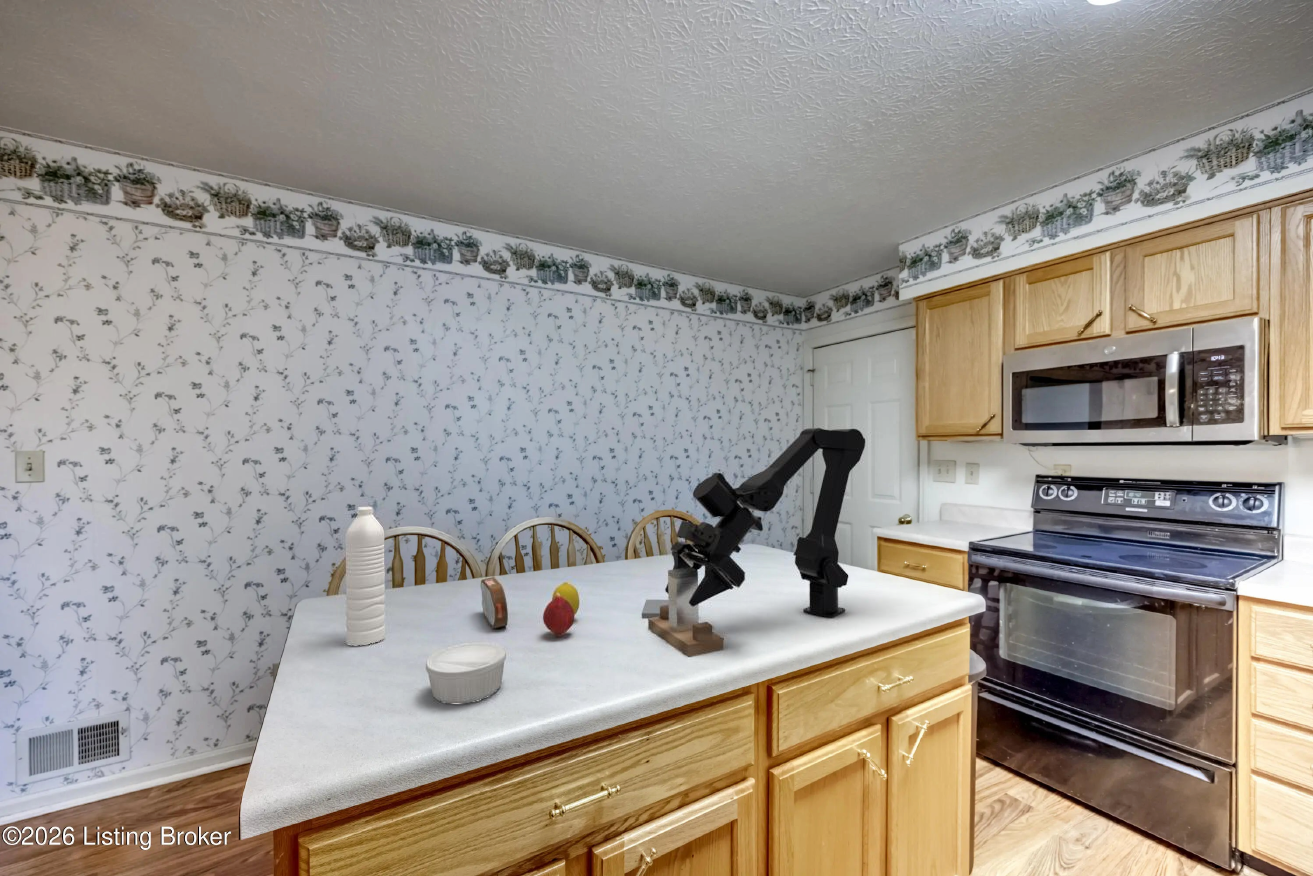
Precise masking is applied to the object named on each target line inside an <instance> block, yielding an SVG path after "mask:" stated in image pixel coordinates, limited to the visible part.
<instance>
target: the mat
mask: <svg viewBox="0 0 1313 876" xmlns="http://www.w3.org/2000/svg"><path fill="white" fill-rule="evenodd" d="M663 605H669V599H645V602H644V606H643V608H642V612H641V619H648V618H654V617H660V606H663Z"/></svg>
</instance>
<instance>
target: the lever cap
mask: <svg viewBox="0 0 1313 876" xmlns="http://www.w3.org/2000/svg"><path fill="white" fill-rule="evenodd" d="M667 578H668V579H667V584H668V593H667V595H668V596H667V597H668V598H667V600H669V627H670V628H671V629H673V630H674V631H676V632H681V631H687V630H692V629H693V624H697V623H700V622H699V620H700V619H699V604H697V605H696V606H691V605H690V604H689V601H690V599H691V597H692V595H693V594H694V592H695V590H696V589H697V587H698V586H699V570H695V569H692V568H690V567H689V568H681V569H673V568H672V569H668V570H667Z"/></svg>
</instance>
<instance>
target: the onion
mask: <svg viewBox="0 0 1313 876" xmlns="http://www.w3.org/2000/svg"><path fill="white" fill-rule="evenodd" d="M575 615H576V614H574V610H573V607H572V606H571V605H570V603H569V602H568V601H567V600H566V599H564V598H563V597H561V596H560V594H559V593H556V596H555V599H553V600H552V599H551V600H550V601H549V603H548V604H547V605H546V606H545V608H544V610H543V614H542V620H543V623H544V625H545V627H546V628H547V629H548V630H549V631H550V632H551V633H552V634H554V635H555V636H556V637H560V636H562V635H564V634H565V633H566V632H568V630H569V629H570V628H571V627H572V626H573V624H574V623H575V622H574V621H575Z"/></svg>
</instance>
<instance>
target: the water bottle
mask: <svg viewBox="0 0 1313 876" xmlns="http://www.w3.org/2000/svg"><path fill="white" fill-rule="evenodd" d="M356 513H357V515H356V516H355V518H354V519H353V521H352V522H351V524H350V526H348V529H346V532H345V537H344V539H345V555H346V556H345V573H346V574H345V586H346V589H345V598H346V599H345V604H346V607H345V608H346V609H345V617H346V620H345V627H346V631H345V634H346V635H345V636H346V637H345V640H346V641H345V642H346V644H347V643H348V644H351V645H350V646H352V645H360V646H361V645H365V644H370V643H372V644H373V643H375V642H378V641H380V640H381V641H383V640H384V639H385V638H386V614H385V613H386V605H385V604H386V594H385V593H386V584H385V581H386V580H385V579H386V575H385V568H386V567H385V530H384V528H383V526H382V525H381V524H380V522H379V521H378V520H377V518H376V517H375V515H373V513H374V508H373V507H372V506H359V507H357V512H356ZM382 639H383V640H382ZM381 641H380V642H381ZM378 643H379V642H378ZM348 644H347V645H348ZM375 644H376V643H375ZM370 645H371V644H370Z"/></svg>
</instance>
